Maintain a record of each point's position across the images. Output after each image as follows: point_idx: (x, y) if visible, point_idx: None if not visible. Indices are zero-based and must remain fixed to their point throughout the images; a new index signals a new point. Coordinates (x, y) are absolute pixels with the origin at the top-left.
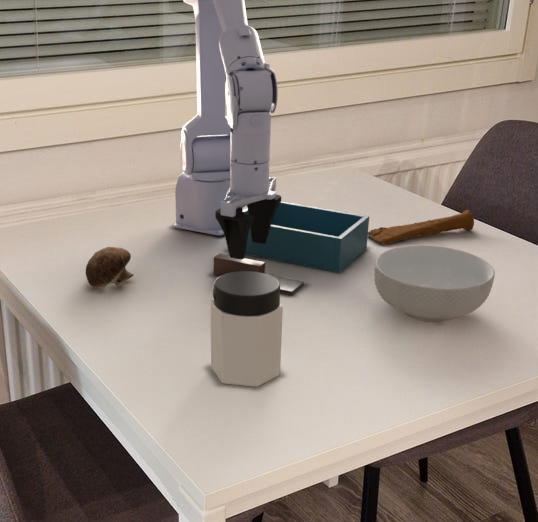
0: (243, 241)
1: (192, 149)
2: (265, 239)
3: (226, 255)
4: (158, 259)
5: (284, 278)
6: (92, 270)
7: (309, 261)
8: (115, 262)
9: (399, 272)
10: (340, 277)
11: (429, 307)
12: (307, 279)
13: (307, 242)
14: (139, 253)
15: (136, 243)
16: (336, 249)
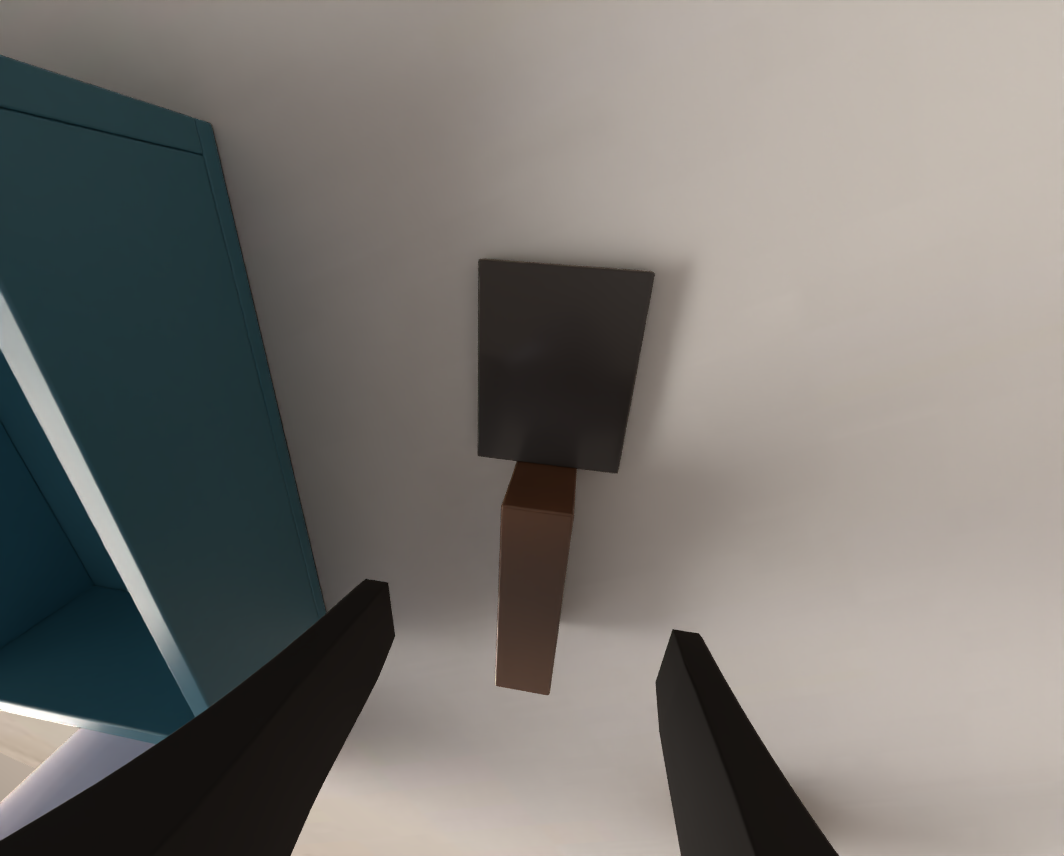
0: (794, 793)
1: None
2: (372, 602)
3: (505, 662)
4: (504, 754)
5: (491, 374)
6: None
7: (234, 324)
8: None
9: None
10: (262, 80)
11: None
12: (400, 270)
13: (134, 370)
14: (488, 788)
15: (430, 799)
16: (50, 111)
